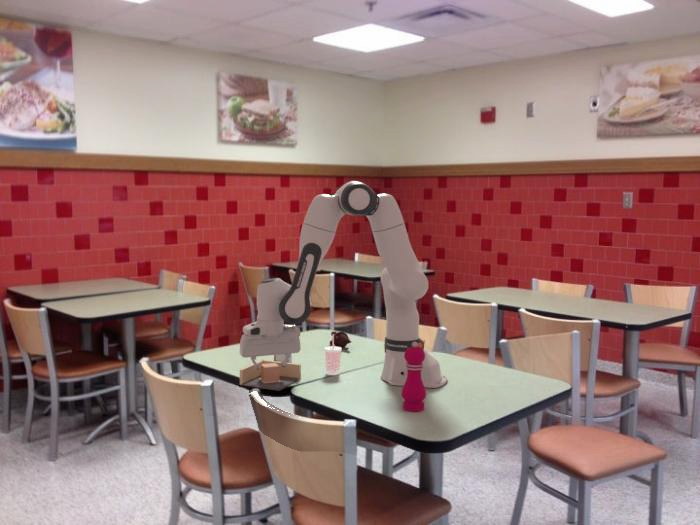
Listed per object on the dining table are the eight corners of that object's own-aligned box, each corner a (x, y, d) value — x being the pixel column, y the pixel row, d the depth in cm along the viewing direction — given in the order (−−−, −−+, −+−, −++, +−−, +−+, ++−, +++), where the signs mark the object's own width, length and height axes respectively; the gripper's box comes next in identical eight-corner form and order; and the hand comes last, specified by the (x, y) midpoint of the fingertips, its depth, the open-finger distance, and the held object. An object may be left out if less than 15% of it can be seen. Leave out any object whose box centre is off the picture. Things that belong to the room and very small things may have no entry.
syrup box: (292, 362, 239) (292, 323, 238) (288, 366, 233) (289, 327, 232) (276, 361, 240) (277, 323, 238) (273, 365, 234) (273, 326, 232)
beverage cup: (343, 371, 227) (344, 333, 225) (338, 376, 221) (339, 336, 219) (327, 370, 228) (327, 331, 227) (321, 374, 222) (322, 335, 221)
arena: (300, 378, 217) (300, 364, 217) (279, 390, 203) (279, 375, 203) (262, 373, 223) (262, 359, 222) (238, 385, 209) (238, 370, 208)
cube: (275, 377, 217) (275, 362, 216) (279, 381, 212) (279, 366, 212) (260, 378, 215) (260, 364, 214) (264, 382, 210) (264, 367, 210)
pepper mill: (423, 404, 191) (425, 338, 189) (427, 412, 184) (429, 344, 182) (399, 404, 191) (401, 338, 189) (402, 412, 184) (404, 344, 182)
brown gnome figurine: (359, 334, 259) (339, 331, 272) (344, 331, 256) (325, 328, 268) (356, 351, 259) (337, 347, 271) (341, 349, 255) (322, 345, 267)
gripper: (297, 323, 219) (297, 362, 220) (238, 327, 211) (238, 368, 212) (303, 326, 213) (303, 367, 214) (242, 331, 205) (243, 373, 207)
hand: (270, 367), depth 213 cm, fingers open, 8 cm apart
